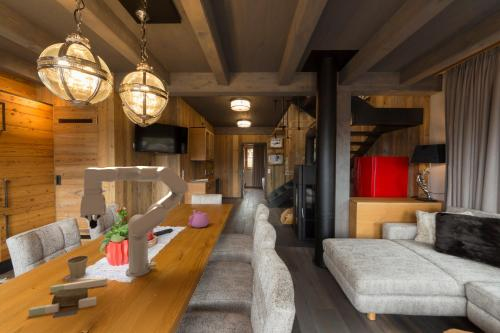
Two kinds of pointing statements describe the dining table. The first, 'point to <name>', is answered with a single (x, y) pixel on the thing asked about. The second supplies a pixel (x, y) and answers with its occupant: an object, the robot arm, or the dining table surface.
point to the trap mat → (66, 313)
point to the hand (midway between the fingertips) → (93, 228)
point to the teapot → (199, 219)
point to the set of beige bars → (56, 288)
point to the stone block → (70, 297)
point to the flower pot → (77, 265)
